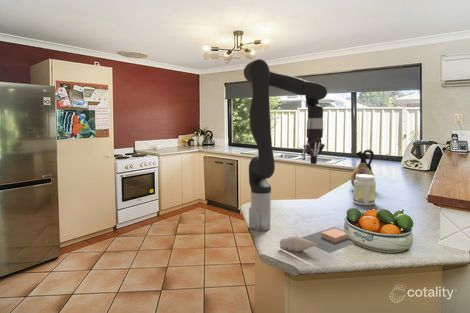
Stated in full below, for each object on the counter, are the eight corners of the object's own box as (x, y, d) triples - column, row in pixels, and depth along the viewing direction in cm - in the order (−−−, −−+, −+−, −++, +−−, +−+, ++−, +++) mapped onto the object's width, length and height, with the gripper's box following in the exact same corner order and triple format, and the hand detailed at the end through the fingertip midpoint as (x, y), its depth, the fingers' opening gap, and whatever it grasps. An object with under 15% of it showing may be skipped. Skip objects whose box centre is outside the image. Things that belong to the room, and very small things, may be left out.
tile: (335, 238, 118) (348, 233, 123) (321, 232, 124) (334, 228, 129) (334, 242, 118) (348, 238, 123) (321, 237, 124) (334, 232, 129)
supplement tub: (370, 200, 183) (372, 174, 181) (377, 206, 171) (379, 177, 169) (350, 200, 184) (351, 173, 182) (356, 205, 172) (357, 177, 170)
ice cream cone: (319, 256, 107) (281, 254, 115) (321, 241, 111) (284, 240, 119) (315, 248, 104) (276, 246, 111) (317, 233, 108) (279, 232, 115)
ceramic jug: (348, 191, 207) (350, 149, 203) (353, 187, 219) (355, 147, 216) (374, 195, 197) (377, 150, 193) (378, 190, 210) (380, 149, 206)
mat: (329, 254, 110) (329, 252, 109) (298, 239, 123) (298, 238, 123) (366, 239, 123) (366, 238, 123) (334, 228, 136) (334, 227, 136)
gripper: (311, 128, 132) (310, 166, 134) (330, 127, 140) (328, 163, 142) (299, 127, 139) (298, 164, 141) (317, 127, 146) (316, 161, 148)
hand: (313, 163), depth 141 cm, fingers closed
